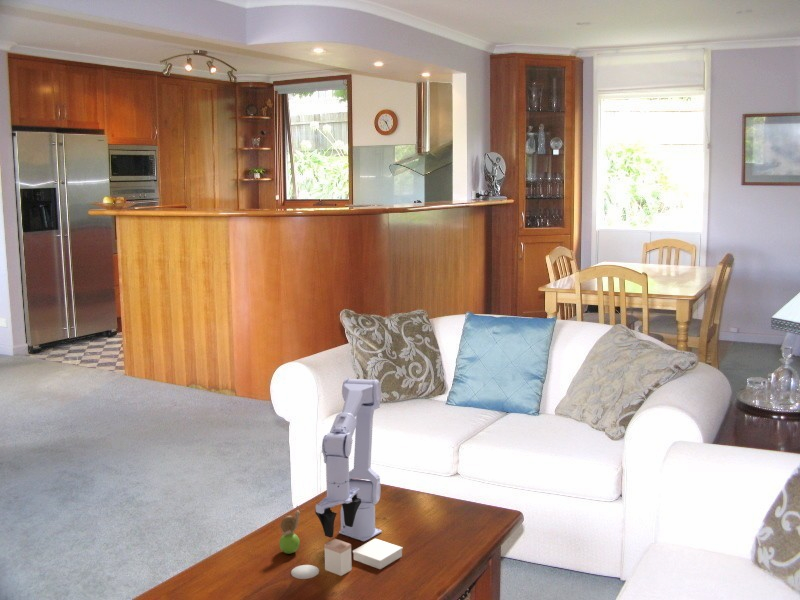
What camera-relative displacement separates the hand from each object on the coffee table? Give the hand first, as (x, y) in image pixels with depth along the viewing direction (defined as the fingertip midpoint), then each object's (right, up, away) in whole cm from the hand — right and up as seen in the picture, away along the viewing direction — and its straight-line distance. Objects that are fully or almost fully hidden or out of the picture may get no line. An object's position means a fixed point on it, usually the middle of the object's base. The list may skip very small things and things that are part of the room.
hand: (339, 531), depth 211 cm
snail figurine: (-14, -9, +12) cm, 20 cm away
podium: (+10, -9, +8) cm, 15 cm away
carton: (0, -10, +2) cm, 11 cm away
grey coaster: (-9, -11, +1) cm, 14 cm away
